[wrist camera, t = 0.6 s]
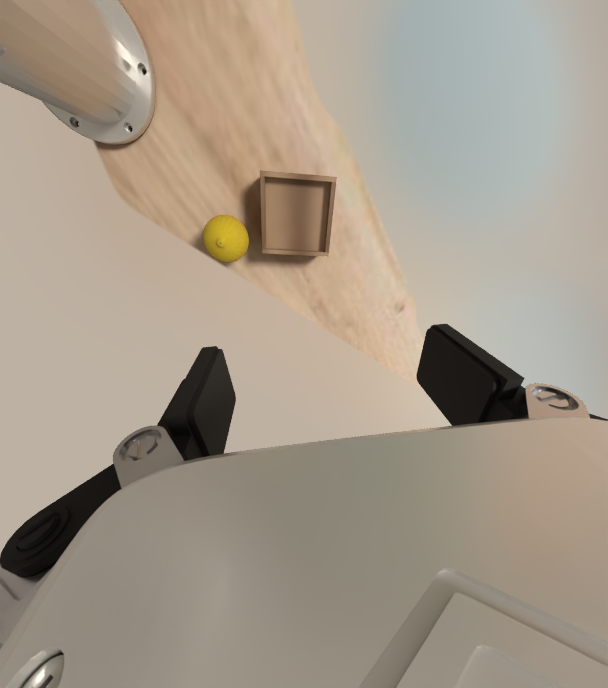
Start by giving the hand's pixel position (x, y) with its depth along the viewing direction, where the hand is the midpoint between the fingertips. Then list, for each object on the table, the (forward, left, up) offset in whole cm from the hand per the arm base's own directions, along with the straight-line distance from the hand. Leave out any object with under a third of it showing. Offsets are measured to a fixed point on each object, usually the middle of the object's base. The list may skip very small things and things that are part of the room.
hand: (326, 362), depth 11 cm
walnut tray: (0, +5, -29) cm, 29 cm away
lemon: (-9, +2, -29) cm, 31 cm away
